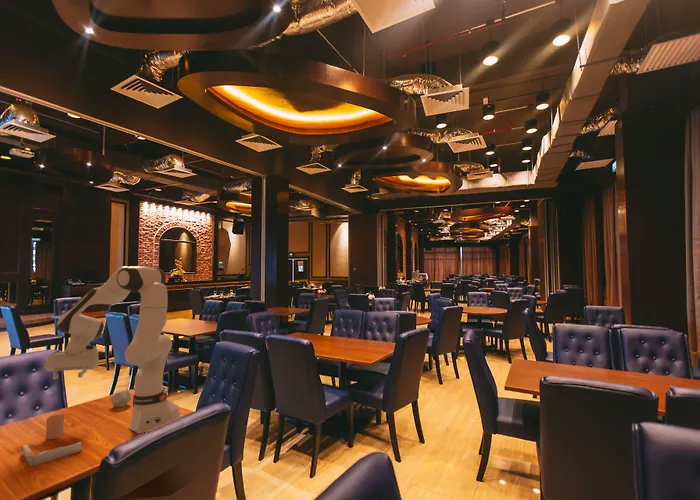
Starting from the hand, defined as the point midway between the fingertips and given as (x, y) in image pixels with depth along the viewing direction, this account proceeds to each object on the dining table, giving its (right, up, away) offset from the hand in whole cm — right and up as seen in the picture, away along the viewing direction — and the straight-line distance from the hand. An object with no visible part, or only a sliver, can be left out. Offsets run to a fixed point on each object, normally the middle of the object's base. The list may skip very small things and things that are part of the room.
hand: (67, 377), depth 168 cm
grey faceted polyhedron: (+11, -22, +22) cm, 33 cm away
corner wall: (+15, -19, -27) cm, 37 cm away
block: (+4, -20, -13) cm, 24 cm away
